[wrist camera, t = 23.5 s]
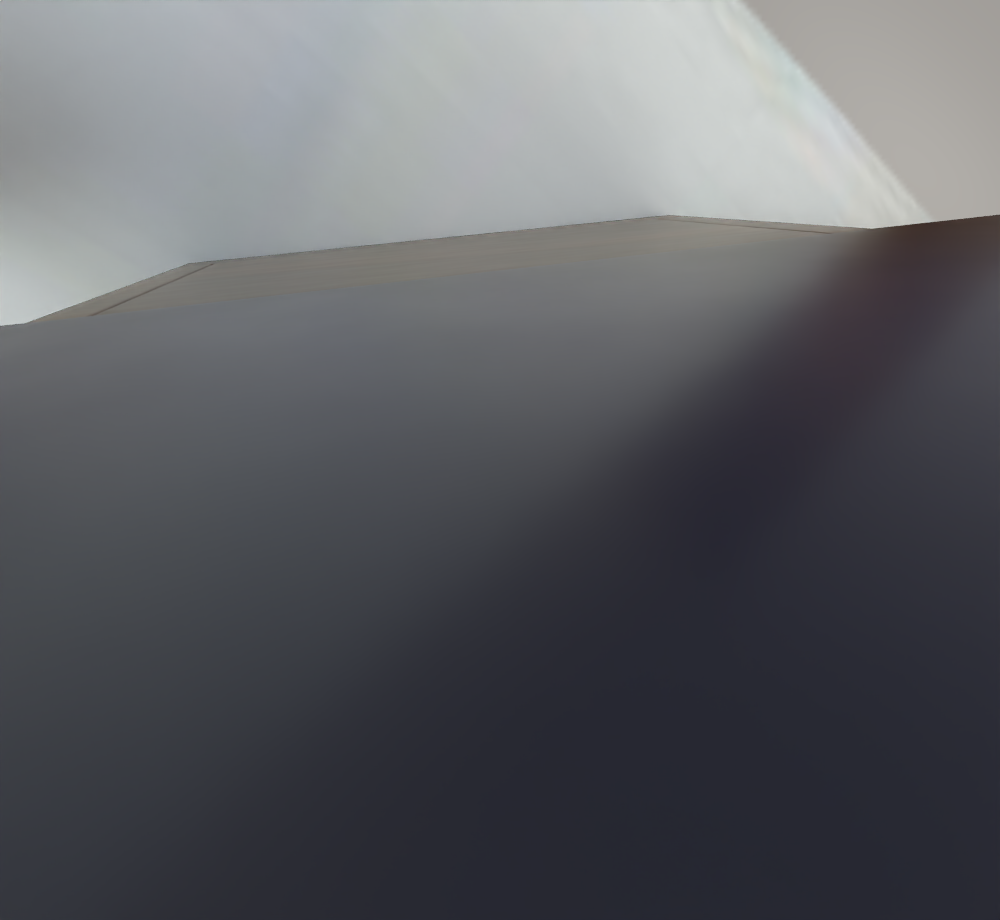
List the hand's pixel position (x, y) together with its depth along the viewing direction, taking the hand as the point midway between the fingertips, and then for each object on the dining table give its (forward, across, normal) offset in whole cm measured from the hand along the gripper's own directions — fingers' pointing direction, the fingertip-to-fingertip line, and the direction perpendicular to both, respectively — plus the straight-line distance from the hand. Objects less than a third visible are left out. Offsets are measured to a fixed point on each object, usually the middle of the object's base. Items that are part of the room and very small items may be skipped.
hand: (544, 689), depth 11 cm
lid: (-10, 0, -8) cm, 13 cm away
